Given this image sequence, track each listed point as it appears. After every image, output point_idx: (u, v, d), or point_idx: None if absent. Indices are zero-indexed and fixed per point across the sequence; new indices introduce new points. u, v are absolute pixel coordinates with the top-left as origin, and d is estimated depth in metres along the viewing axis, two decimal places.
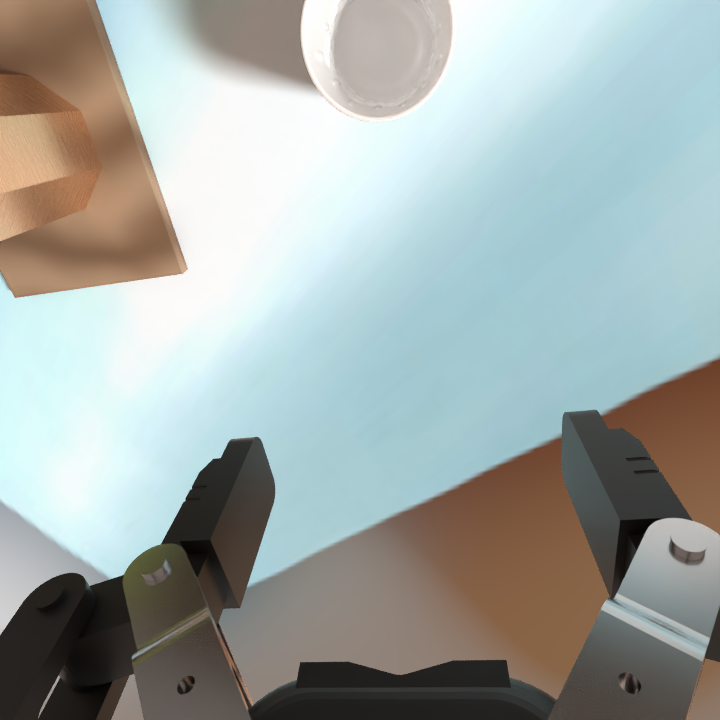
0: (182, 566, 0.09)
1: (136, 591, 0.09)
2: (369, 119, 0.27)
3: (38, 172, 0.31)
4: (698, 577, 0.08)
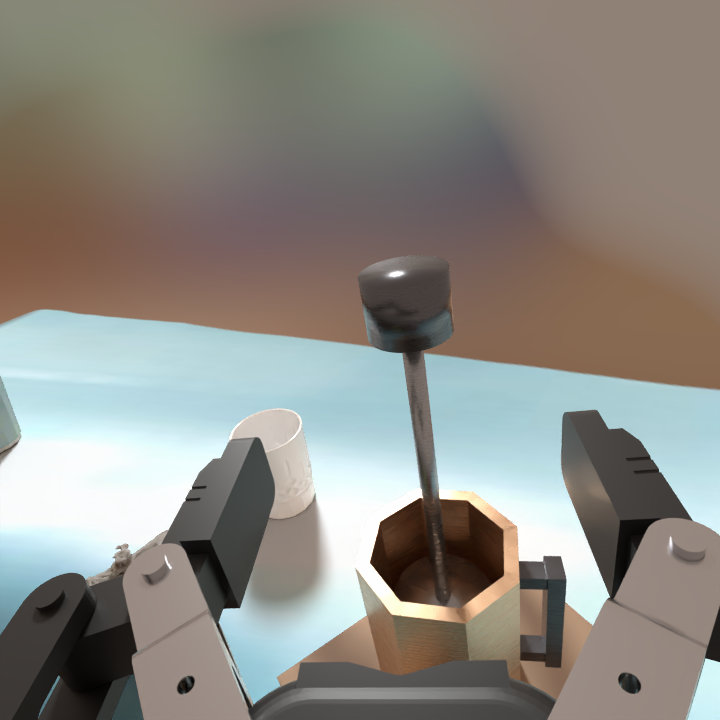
0: (182, 566, 0.09)
1: (136, 591, 0.09)
2: (300, 419, 0.54)
3: None
4: (698, 577, 0.08)
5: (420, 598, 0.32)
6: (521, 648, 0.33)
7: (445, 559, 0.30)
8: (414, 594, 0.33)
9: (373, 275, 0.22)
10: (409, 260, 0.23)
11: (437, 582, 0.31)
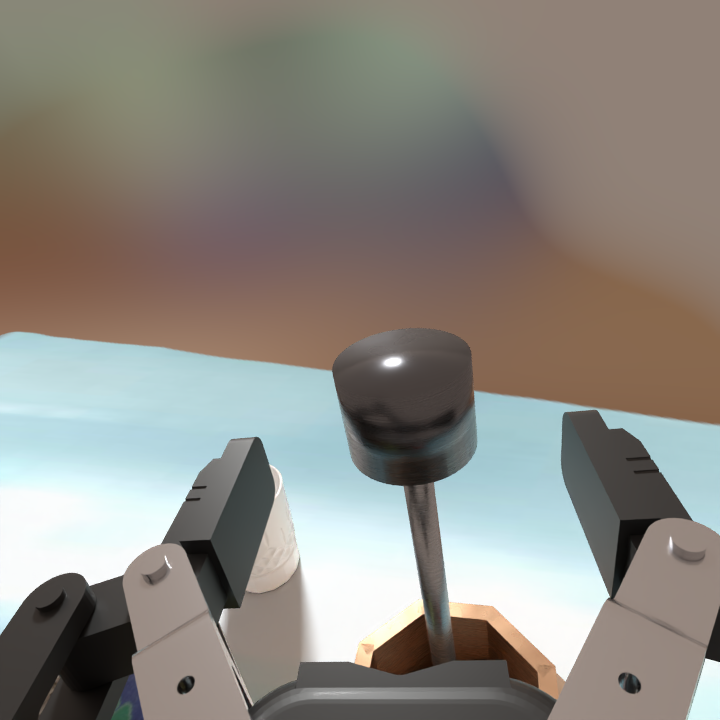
0: (182, 566, 0.09)
1: (136, 591, 0.09)
2: (280, 476, 0.46)
3: None
4: (698, 577, 0.08)
5: None
6: None
7: None
8: None
9: (356, 365, 0.14)
10: (409, 338, 0.15)
11: None
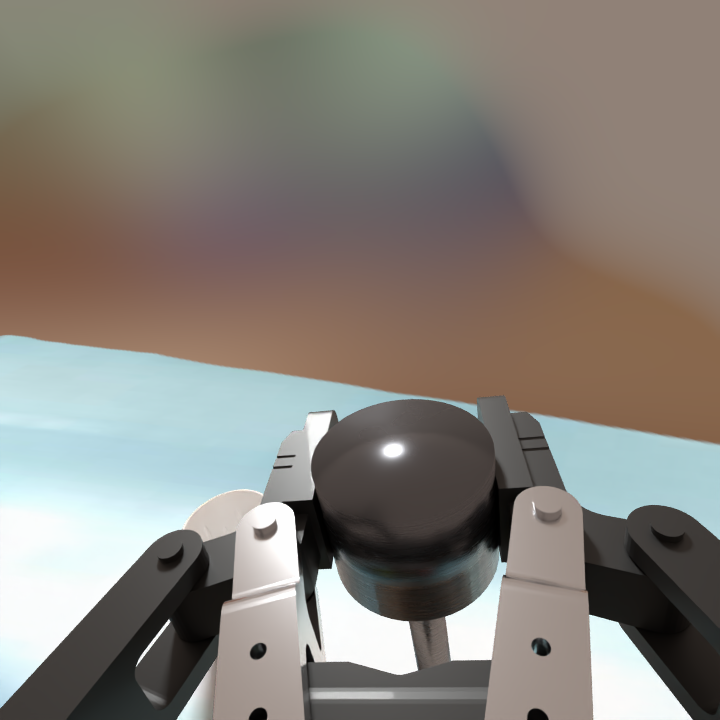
0: (292, 522, 0.10)
1: (245, 540, 0.10)
2: None
3: None
4: (562, 533, 0.09)
5: None
6: None
7: None
8: None
9: (342, 458, 0.11)
10: (411, 416, 0.12)
11: None
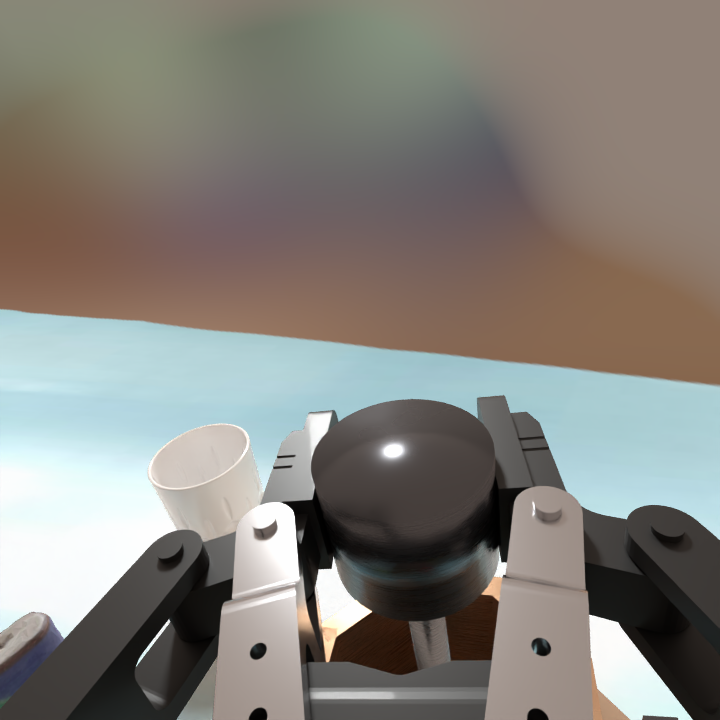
0: (292, 522, 0.10)
1: (245, 540, 0.10)
2: (247, 438, 0.39)
3: None
4: (562, 533, 0.09)
5: None
6: None
7: None
8: None
9: (342, 458, 0.11)
10: (411, 416, 0.12)
11: None
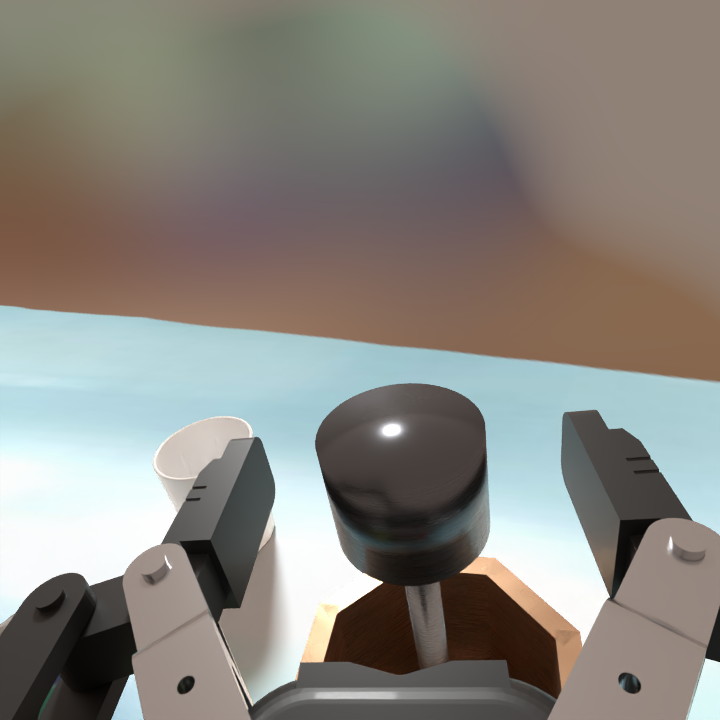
0: (182, 566, 0.09)
1: (136, 591, 0.09)
2: (250, 430, 0.40)
3: None
4: (698, 577, 0.08)
5: None
6: None
7: None
8: None
9: (344, 436, 0.12)
10: (409, 399, 0.13)
11: None
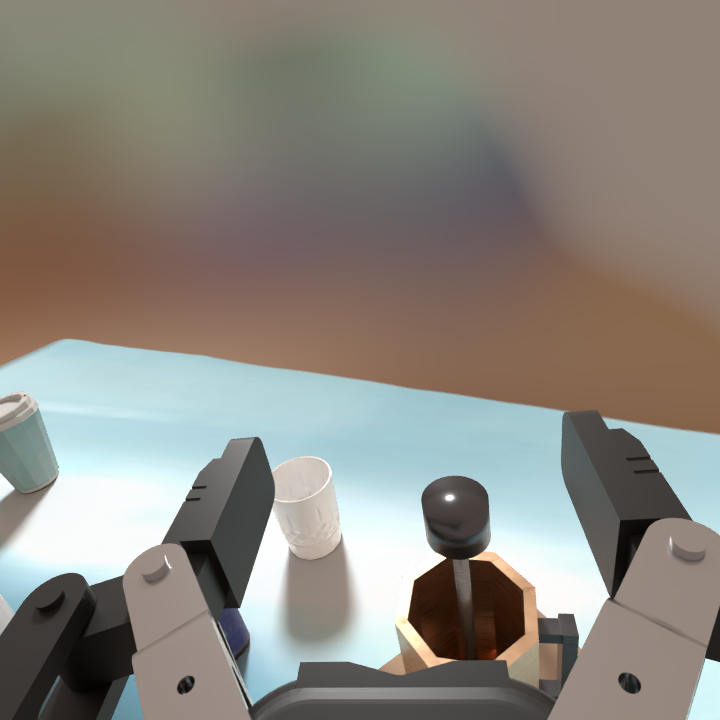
0: (182, 566, 0.09)
1: (136, 591, 0.09)
2: (329, 467, 0.58)
3: None
4: (698, 577, 0.08)
5: None
6: None
7: None
8: None
9: (433, 501, 0.30)
10: (457, 484, 0.31)
11: None
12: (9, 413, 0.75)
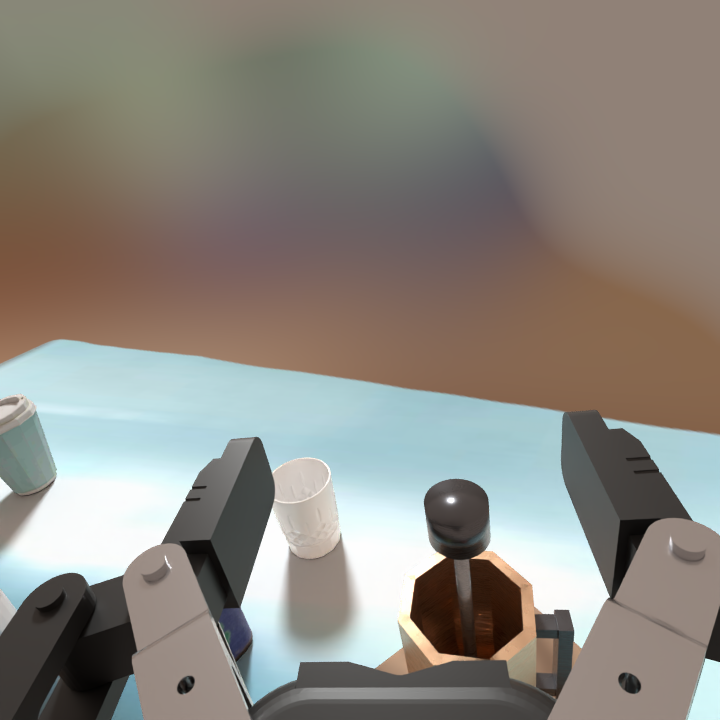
0: (182, 566, 0.09)
1: (136, 591, 0.09)
2: (328, 468, 0.59)
3: None
4: (698, 577, 0.08)
5: None
6: (535, 685, 0.39)
7: None
8: None
9: (435, 503, 0.31)
10: (458, 487, 0.32)
11: None
12: (7, 416, 0.75)
